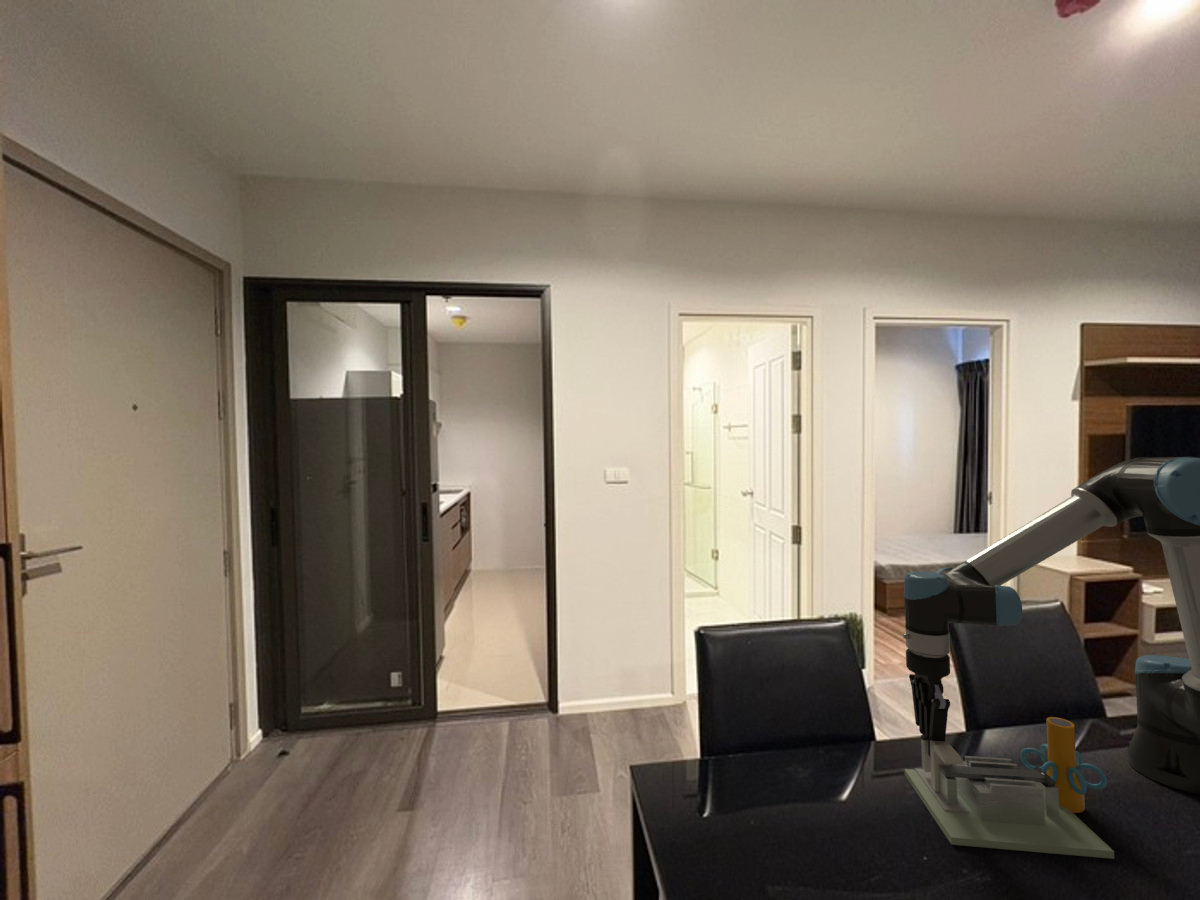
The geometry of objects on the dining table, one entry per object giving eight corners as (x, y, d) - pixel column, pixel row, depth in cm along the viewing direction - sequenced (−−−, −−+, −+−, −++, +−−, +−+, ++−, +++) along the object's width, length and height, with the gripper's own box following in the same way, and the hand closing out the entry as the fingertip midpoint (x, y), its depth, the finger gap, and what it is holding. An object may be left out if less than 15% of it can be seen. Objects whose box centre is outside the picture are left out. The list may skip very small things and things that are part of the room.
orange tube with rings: (1121, 828, 93) (1118, 741, 93) (1053, 822, 95) (1050, 737, 95) (1072, 785, 105) (1070, 708, 105) (1013, 781, 107) (1010, 705, 107)
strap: (1041, 773, 99) (1040, 767, 99) (1055, 786, 95) (1055, 780, 95) (937, 767, 102) (936, 761, 102) (947, 780, 98) (946, 773, 98)
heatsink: (1034, 792, 102) (1033, 759, 102) (1071, 828, 92) (1069, 791, 92) (932, 784, 105) (931, 752, 105) (957, 819, 95) (956, 783, 95)
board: (1035, 783, 106) (1035, 776, 106) (1114, 858, 86) (1113, 849, 86) (904, 774, 110) (904, 767, 110) (951, 844, 90) (951, 835, 90)
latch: (948, 788, 103) (946, 741, 103) (964, 808, 97) (962, 758, 97) (931, 787, 103) (929, 740, 103) (946, 807, 97) (944, 757, 98)
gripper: (894, 639, 114) (898, 751, 114) (920, 663, 101) (924, 788, 101) (933, 640, 113) (936, 753, 113) (964, 664, 100) (968, 792, 100)
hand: (931, 770), depth 107 cm, fingers closed
